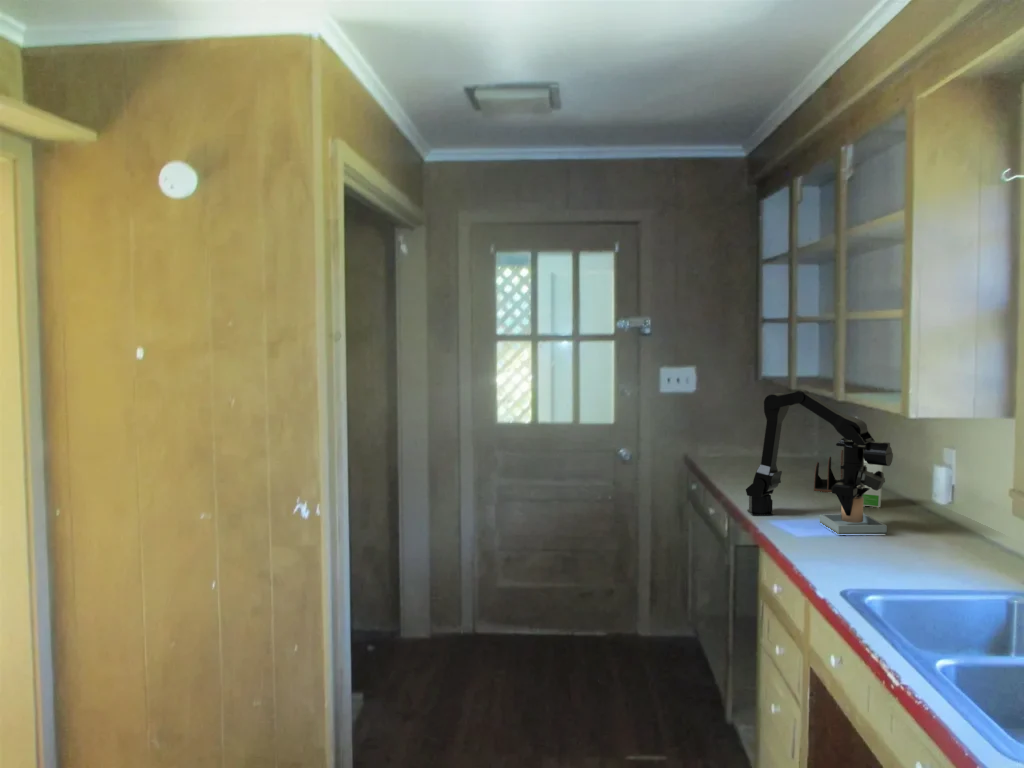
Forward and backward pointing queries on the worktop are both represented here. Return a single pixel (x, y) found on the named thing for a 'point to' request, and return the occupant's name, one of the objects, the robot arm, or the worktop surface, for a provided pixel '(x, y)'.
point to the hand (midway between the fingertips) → (852, 513)
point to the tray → (853, 525)
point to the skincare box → (872, 495)
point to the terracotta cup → (854, 511)
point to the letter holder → (826, 484)
